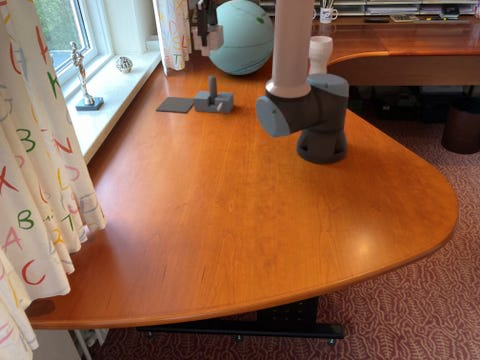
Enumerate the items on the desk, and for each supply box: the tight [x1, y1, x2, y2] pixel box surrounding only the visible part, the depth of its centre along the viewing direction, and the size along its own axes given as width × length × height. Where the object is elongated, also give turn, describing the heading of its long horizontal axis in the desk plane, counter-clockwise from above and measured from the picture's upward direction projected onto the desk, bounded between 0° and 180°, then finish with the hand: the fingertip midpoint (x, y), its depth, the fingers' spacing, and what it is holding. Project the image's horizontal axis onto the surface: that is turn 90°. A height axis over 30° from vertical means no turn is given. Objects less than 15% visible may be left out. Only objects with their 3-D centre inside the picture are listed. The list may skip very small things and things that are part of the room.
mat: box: [155, 96, 194, 114], centre depth 153 cm, size 12×12×1 cm
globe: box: [208, 0, 275, 76], centre depth 171 cm, size 30×30×30 cm
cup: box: [308, 35, 334, 76], centre depth 170 cm, size 11×11×15 cm
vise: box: [192, 75, 235, 114], centre depth 145 cm, size 12×13×12 cm
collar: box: [192, 25, 224, 51], centre depth 135 cm, size 8×8×6 cm
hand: (210, 51), depth 138 cm, fingers closed on collar, 8 cm apart
